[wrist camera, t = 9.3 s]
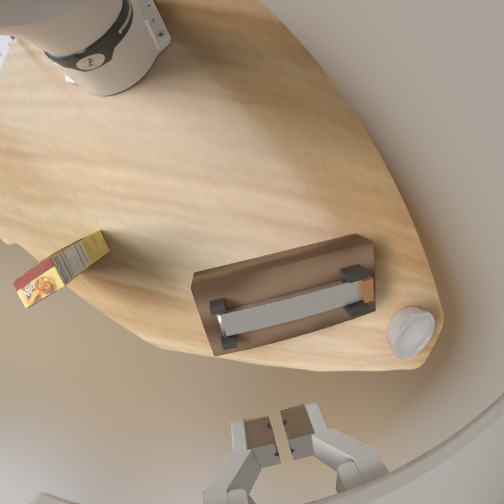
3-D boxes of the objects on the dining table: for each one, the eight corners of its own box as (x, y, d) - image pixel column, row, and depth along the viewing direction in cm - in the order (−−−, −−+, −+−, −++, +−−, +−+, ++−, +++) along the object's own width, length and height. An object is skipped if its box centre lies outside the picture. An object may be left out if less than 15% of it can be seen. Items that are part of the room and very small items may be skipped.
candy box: (74, 271, 39) (26, 311, 25) (63, 250, 38) (11, 282, 23) (111, 250, 39) (66, 287, 25) (100, 227, 38) (48, 254, 23)
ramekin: (396, 353, 53) (407, 366, 48) (373, 333, 50) (385, 346, 45) (428, 317, 52) (441, 327, 47) (409, 292, 49) (424, 302, 44)
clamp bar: (215, 309, 37) (214, 317, 35) (366, 271, 38) (373, 276, 36) (223, 334, 38) (223, 342, 36) (367, 295, 39) (373, 301, 37)
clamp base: (194, 272, 42) (188, 298, 33) (354, 233, 43) (384, 247, 35) (214, 335, 45) (214, 369, 37) (359, 296, 47) (385, 319, 38)
